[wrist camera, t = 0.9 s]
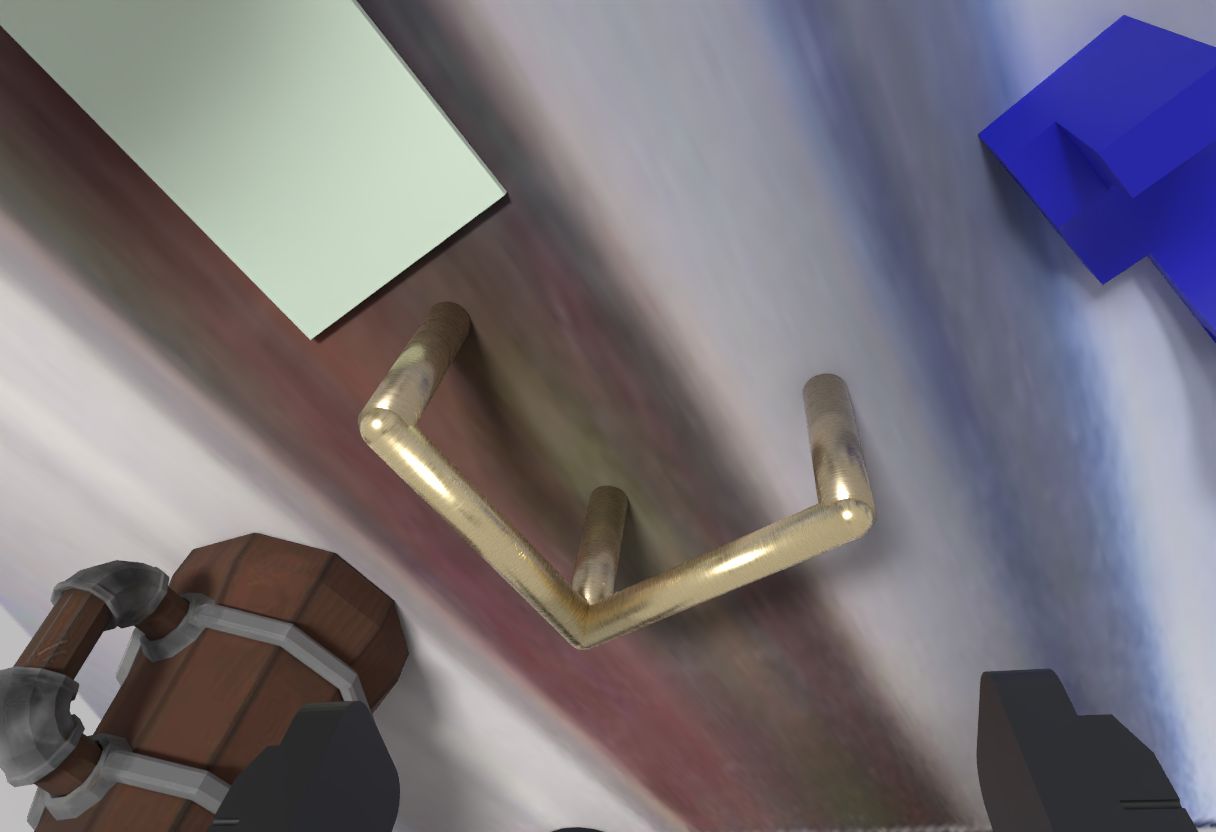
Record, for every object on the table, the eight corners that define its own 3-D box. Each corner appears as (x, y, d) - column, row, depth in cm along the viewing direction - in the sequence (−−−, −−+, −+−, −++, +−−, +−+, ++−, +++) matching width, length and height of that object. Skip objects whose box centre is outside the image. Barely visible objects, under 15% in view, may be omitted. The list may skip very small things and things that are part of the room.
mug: (449, 675, 42) (332, 1011, 29) (264, 708, 45) (91, 1020, 33) (276, 436, 34) (22, 753, 22) (72, 499, 38) (-245, 801, 26)
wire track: (679, 133, 25) (663, 218, 19) (855, 398, 30) (889, 539, 24) (420, 316, 30) (338, 433, 24) (604, 521, 35) (577, 666, 28)
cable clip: (976, 133, 25) (1039, 197, 20) (1121, 14, 22) (1232, 53, 17) (1180, 381, 28) (1276, 489, 23) (1321, 299, 26) (1460, 399, 21)
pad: (142, -272, 21) (135, -274, 21) (507, 192, 27) (504, 194, 27) (-36, -20, 25) (-43, -19, 25) (313, 336, 31) (310, 339, 31)
